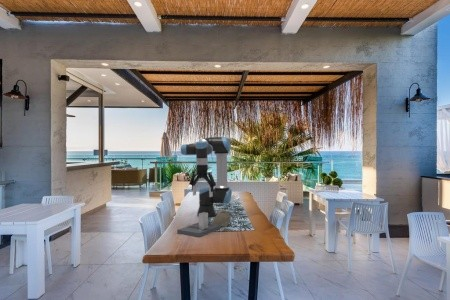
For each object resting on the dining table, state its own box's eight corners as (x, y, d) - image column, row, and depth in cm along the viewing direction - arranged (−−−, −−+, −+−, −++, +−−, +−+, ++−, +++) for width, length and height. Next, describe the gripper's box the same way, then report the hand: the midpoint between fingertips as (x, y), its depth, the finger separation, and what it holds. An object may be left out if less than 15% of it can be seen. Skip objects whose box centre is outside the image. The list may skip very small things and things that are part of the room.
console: (177, 233, 216) (177, 225, 216) (199, 226, 236) (199, 219, 236) (199, 237, 206) (199, 229, 206) (220, 229, 227) (220, 221, 227)
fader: (198, 228, 216) (198, 213, 215) (203, 227, 220) (203, 212, 220) (203, 229, 214) (203, 214, 214) (208, 227, 218) (208, 212, 218)
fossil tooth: (211, 227, 238) (231, 224, 240) (212, 228, 232) (233, 226, 233) (209, 211, 238) (230, 208, 240) (210, 212, 232) (231, 209, 234)
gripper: (183, 164, 224) (184, 195, 225) (214, 165, 211) (215, 198, 212) (190, 163, 231) (191, 193, 232) (220, 164, 218) (221, 196, 219)
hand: (202, 196), depth 222 cm, fingers open, 13 cm apart
